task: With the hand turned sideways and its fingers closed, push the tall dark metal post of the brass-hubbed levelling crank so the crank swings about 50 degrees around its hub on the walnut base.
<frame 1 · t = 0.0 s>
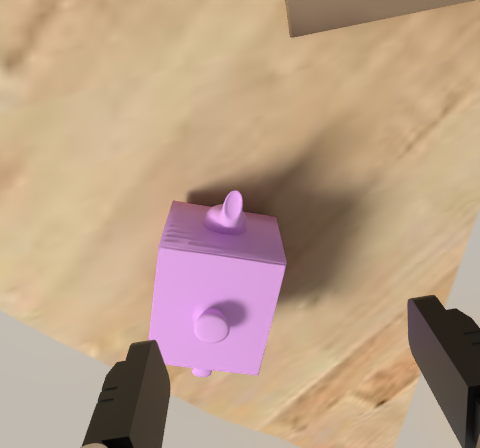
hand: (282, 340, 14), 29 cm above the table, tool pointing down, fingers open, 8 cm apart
teapot: (218, 239, 45), on the table
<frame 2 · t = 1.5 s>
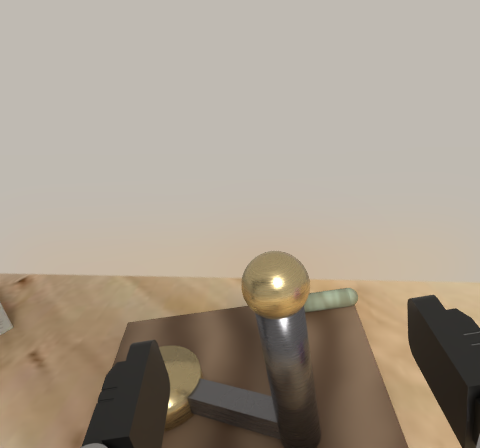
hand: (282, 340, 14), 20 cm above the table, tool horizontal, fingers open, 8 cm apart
walnut base: (238, 383, 39), on the table
levelling crank: (198, 338, 31), point 9 cm above the table, hinge at 0.0°
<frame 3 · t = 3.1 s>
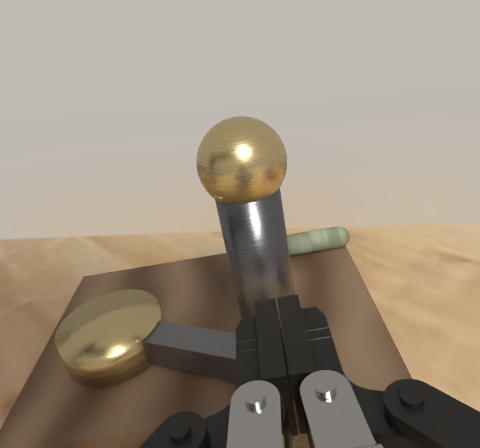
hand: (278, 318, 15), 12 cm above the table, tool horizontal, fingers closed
walnut base: (209, 333, 32), on the table
levelling crank: (151, 259, 25), point 9 cm above the table, hinge at 0.0°
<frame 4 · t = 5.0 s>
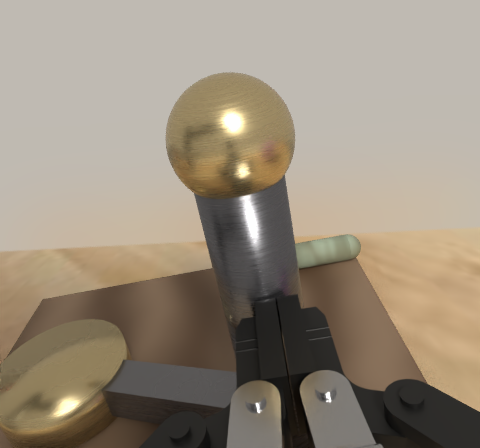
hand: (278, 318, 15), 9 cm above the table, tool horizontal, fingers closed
walnut base: (190, 372, 26), on the table
levelling crank: (108, 282, 18), point 9 cm above the table, hinge at 4.2°, touching gripper
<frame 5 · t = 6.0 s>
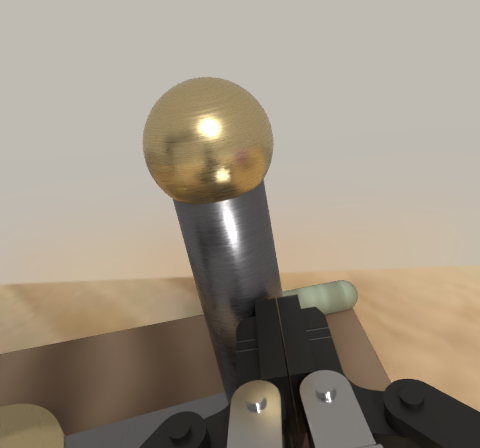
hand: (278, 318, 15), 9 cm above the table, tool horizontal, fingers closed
levelling crank: (56, 340, 15), point 9 cm above the table, hinge at 30.9°, touching gripper
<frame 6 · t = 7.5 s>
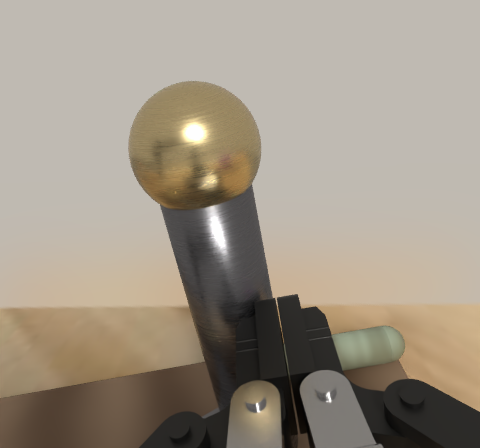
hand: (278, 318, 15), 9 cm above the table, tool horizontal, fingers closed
levelling crank: (38, 391, 13), point 9 cm above the table, hinge at 51.1°, touching gripper
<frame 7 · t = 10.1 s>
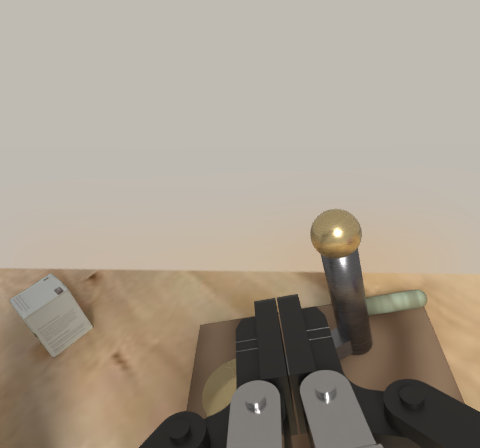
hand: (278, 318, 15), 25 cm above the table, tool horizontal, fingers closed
walnut base: (313, 389, 41), on the table
levelling crank: (278, 321, 36), point 9 cm above the table, hinge at 51.2°
skincare box: (66, 334, 58), on the table
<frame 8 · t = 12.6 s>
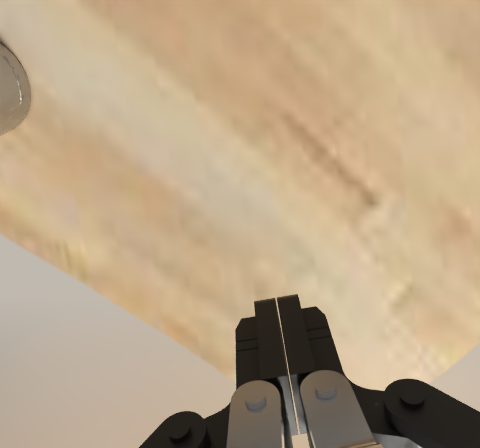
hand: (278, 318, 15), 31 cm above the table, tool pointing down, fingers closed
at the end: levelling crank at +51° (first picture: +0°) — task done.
